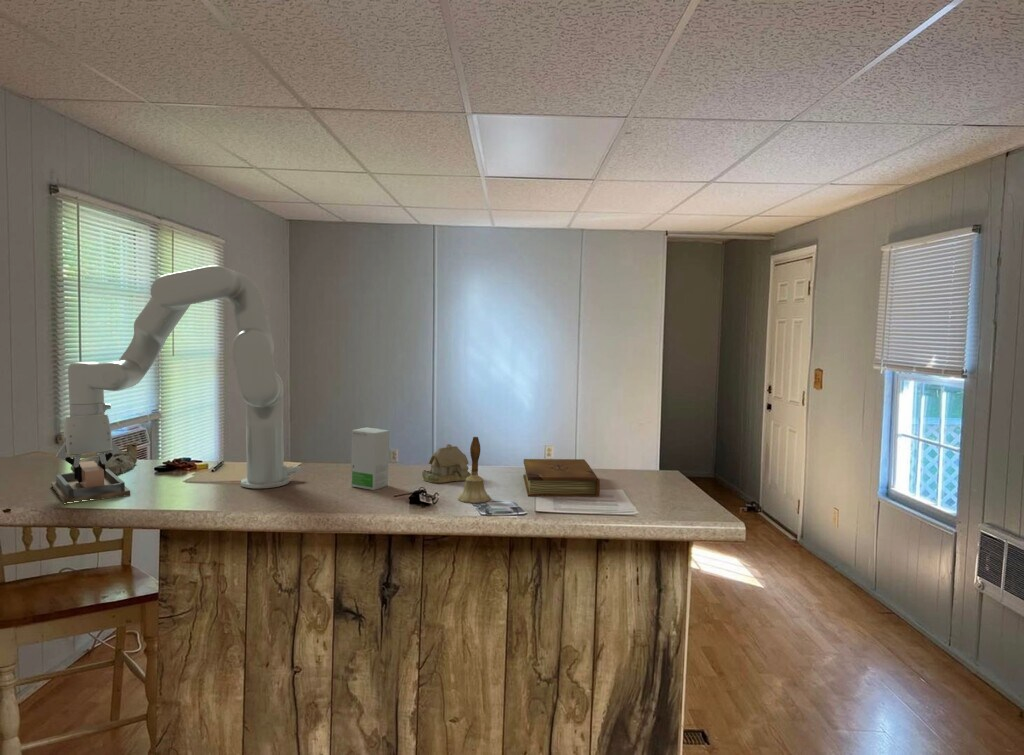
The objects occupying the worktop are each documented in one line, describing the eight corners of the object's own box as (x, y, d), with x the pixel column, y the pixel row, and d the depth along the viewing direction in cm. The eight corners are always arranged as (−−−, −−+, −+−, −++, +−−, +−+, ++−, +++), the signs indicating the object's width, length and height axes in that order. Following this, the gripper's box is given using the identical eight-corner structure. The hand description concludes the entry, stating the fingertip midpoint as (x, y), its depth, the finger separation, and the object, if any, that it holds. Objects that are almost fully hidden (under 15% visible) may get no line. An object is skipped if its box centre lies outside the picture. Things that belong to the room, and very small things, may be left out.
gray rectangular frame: (112, 479, 185) (111, 467, 184) (130, 495, 168) (129, 482, 168) (51, 486, 175) (51, 474, 175) (64, 504, 159) (63, 491, 159)
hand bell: (471, 493, 175) (472, 433, 173) (496, 498, 170) (497, 436, 169) (451, 499, 168) (451, 437, 167) (476, 505, 163) (477, 441, 162)
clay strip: (94, 477, 178) (93, 460, 178) (104, 487, 168) (103, 469, 167) (76, 479, 176) (75, 462, 175) (85, 489, 165) (85, 471, 165)
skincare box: (350, 486, 180) (349, 430, 178) (365, 481, 185) (365, 426, 184) (375, 490, 176) (374, 432, 175) (390, 485, 182) (390, 429, 181)
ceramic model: (456, 472, 200) (456, 439, 199) (479, 479, 191) (479, 444, 190) (416, 479, 190) (416, 444, 189) (439, 486, 182) (439, 450, 181)
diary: (599, 499, 173) (599, 477, 172) (527, 498, 172) (528, 477, 172) (586, 477, 196) (586, 458, 195) (523, 477, 195) (523, 458, 195)
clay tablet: (105, 463, 207) (62, 476, 187) (105, 447, 207) (62, 459, 187) (151, 464, 207) (113, 478, 187) (151, 449, 207) (112, 461, 187)
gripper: (121, 406, 178) (123, 473, 180) (45, 410, 167) (48, 482, 169) (127, 408, 173) (129, 478, 174) (49, 414, 162) (53, 487, 163)
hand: (90, 479), depth 172 cm, fingers closed on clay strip, 4 cm apart
